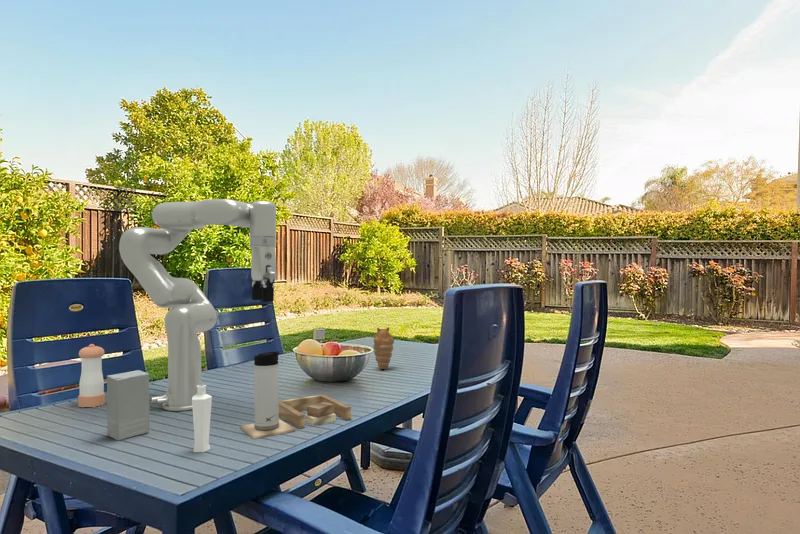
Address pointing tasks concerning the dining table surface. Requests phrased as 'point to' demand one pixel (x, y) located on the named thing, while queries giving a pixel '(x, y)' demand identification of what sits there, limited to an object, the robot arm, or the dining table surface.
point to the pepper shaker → (91, 377)
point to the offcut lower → (320, 419)
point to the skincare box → (127, 404)
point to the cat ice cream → (383, 347)
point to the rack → (293, 406)
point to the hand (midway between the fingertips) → (262, 300)
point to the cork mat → (256, 434)
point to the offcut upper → (320, 409)
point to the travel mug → (266, 391)
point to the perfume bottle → (201, 418)
